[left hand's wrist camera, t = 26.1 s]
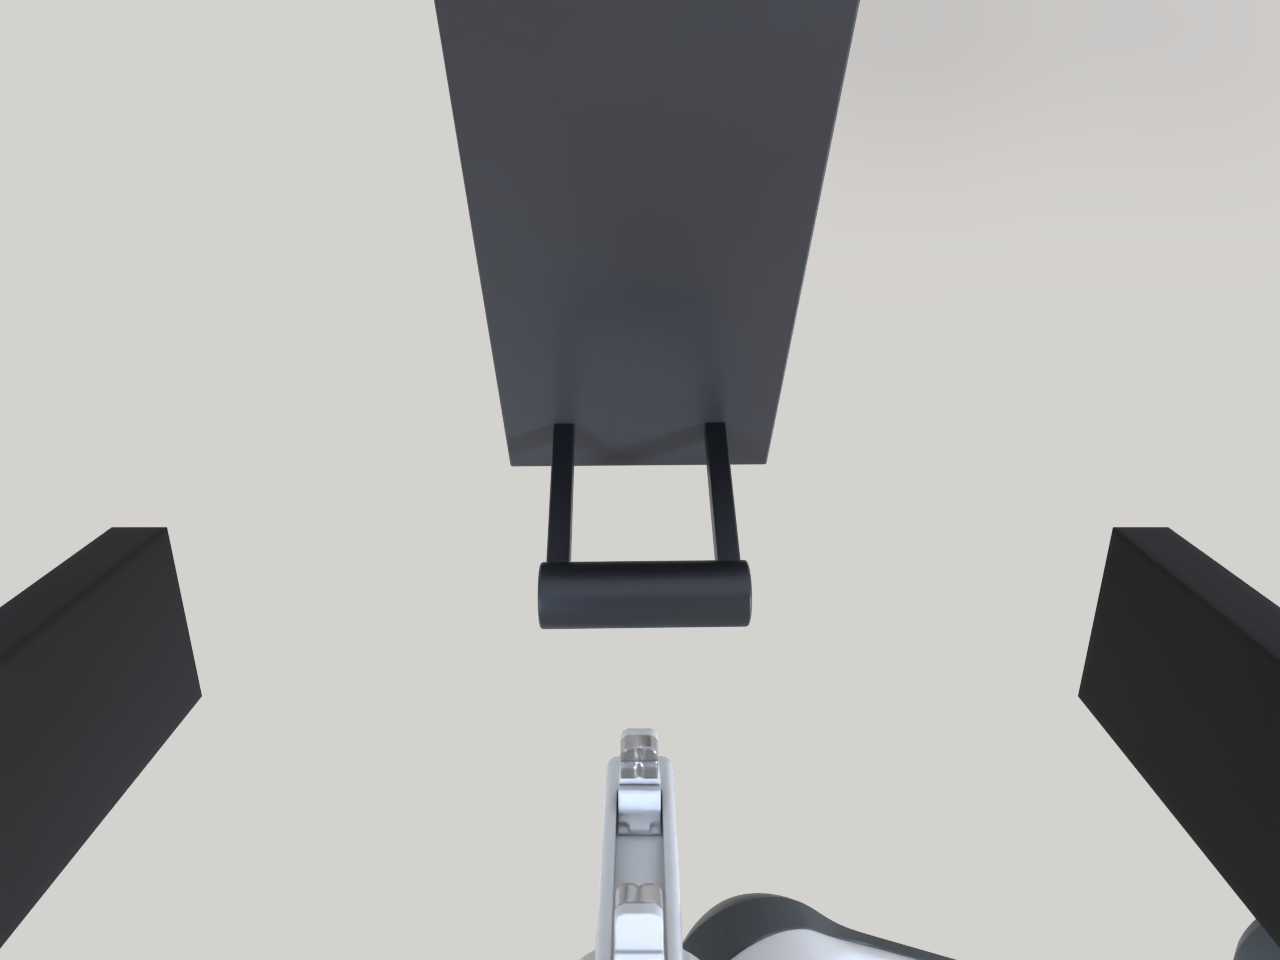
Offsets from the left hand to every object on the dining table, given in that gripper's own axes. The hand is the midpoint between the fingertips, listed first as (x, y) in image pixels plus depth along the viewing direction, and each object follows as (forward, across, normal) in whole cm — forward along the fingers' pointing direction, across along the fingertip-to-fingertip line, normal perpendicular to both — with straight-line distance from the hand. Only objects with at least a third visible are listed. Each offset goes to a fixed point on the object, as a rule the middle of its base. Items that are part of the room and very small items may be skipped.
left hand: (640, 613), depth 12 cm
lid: (+16, 0, -3) cm, 16 cm away
